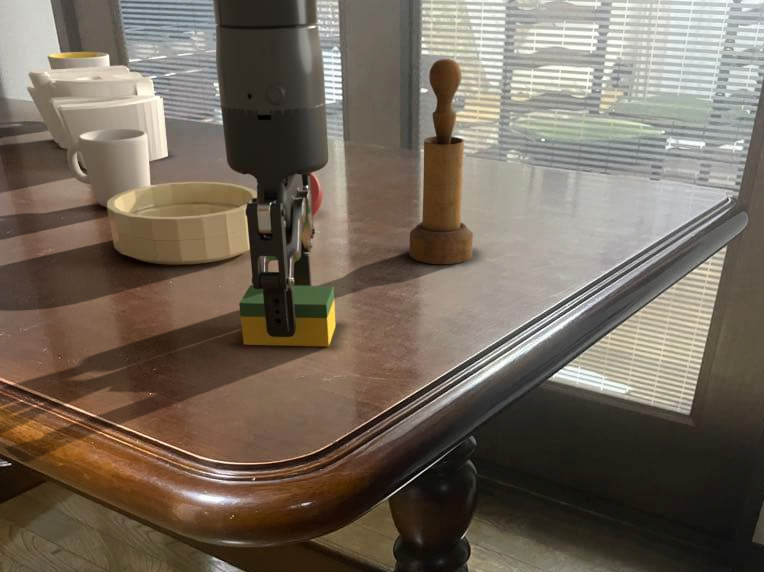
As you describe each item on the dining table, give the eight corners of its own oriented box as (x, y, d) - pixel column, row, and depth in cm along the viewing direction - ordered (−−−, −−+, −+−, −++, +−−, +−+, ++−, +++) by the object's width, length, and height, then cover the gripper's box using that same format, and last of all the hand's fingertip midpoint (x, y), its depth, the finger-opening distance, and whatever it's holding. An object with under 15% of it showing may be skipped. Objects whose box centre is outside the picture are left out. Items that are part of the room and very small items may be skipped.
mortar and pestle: (447, 269, 87) (453, 65, 77) (396, 257, 91) (395, 60, 80) (484, 253, 92) (494, 58, 82) (434, 242, 95) (437, 54, 85)
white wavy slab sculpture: (181, 167, 126) (170, 85, 120) (61, 178, 120) (43, 93, 114) (135, 128, 152) (124, 59, 146) (35, 135, 146) (19, 64, 140)
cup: (58, 208, 107) (42, 137, 103) (96, 193, 113) (83, 125, 109) (134, 215, 104) (122, 142, 100) (169, 199, 110) (159, 130, 106)
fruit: (318, 226, 108) (304, 159, 107) (331, 211, 102) (316, 141, 101) (270, 232, 106) (255, 164, 105) (281, 217, 100) (265, 146, 99)
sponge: (243, 344, 71) (238, 303, 69) (254, 324, 75) (250, 284, 73) (328, 346, 71) (326, 304, 69) (335, 326, 75) (333, 286, 73)
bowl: (94, 266, 88) (84, 217, 85) (141, 224, 101) (134, 180, 98) (247, 269, 87) (242, 219, 85) (275, 226, 100) (271, 182, 97)
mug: (126, 122, 156) (115, 55, 150) (67, 127, 152) (53, 58, 146) (107, 111, 166) (96, 48, 160) (51, 115, 162) (38, 51, 156)
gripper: (242, 83, 69) (262, 287, 78) (196, 113, 57) (226, 348, 66) (336, 83, 68) (345, 288, 78) (310, 113, 57) (324, 350, 66)
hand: (290, 315), depth 72 cm, fingers open, 8 cm apart
